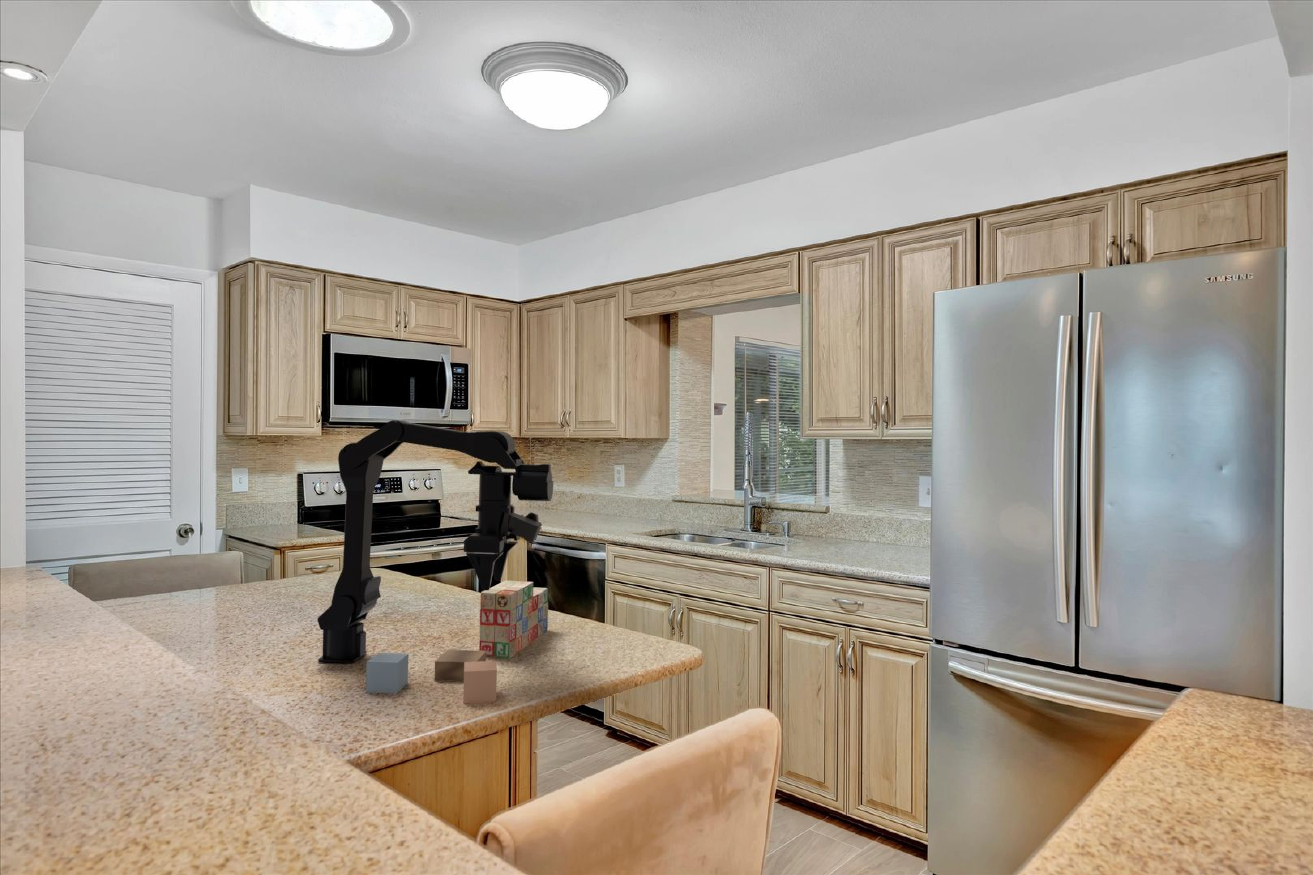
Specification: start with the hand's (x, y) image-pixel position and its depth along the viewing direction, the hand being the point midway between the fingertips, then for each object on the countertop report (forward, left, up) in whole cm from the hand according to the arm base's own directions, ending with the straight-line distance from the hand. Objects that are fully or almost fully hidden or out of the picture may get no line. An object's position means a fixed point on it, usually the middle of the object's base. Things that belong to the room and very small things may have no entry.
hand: (492, 585), depth 137 cm
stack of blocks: (+2, +15, -15) cm, 21 cm away
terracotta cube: (+3, -17, -15) cm, 23 cm away
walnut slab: (-4, -6, -15) cm, 16 cm away
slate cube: (-13, -14, -15) cm, 24 cm away
